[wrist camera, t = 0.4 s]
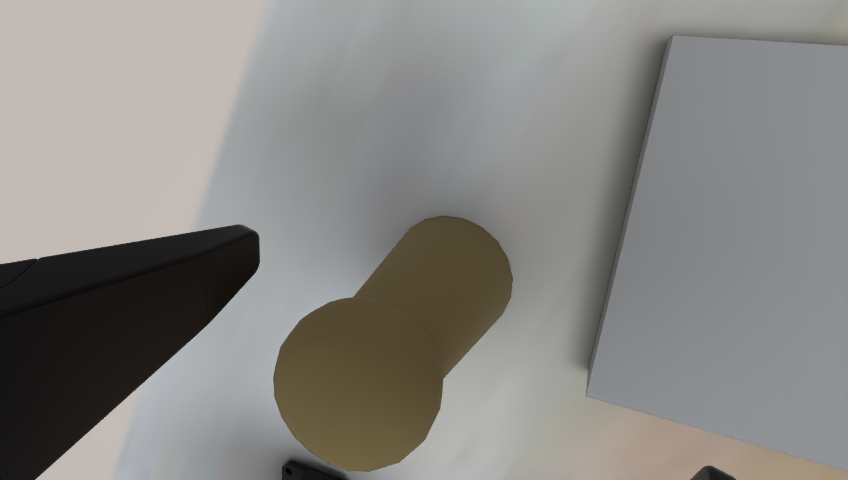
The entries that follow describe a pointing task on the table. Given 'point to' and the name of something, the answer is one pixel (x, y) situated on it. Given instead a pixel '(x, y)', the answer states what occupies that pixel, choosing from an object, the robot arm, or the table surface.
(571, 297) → the table surface
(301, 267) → the table surface
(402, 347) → the cork
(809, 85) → the plinth
